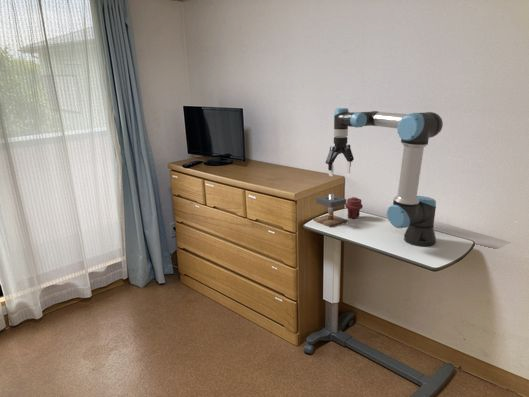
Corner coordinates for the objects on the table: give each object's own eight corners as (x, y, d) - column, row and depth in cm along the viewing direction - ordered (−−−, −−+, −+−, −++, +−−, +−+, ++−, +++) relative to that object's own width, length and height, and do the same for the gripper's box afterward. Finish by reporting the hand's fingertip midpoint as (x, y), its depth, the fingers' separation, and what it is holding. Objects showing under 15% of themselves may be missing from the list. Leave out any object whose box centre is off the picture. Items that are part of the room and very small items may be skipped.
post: (334, 219, 235) (335, 194, 231) (330, 220, 234) (331, 195, 230) (330, 218, 238) (331, 193, 234) (326, 219, 236) (327, 194, 232)
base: (347, 222, 235) (347, 220, 234) (330, 227, 227) (330, 224, 226) (330, 216, 246) (330, 214, 245) (313, 220, 238) (313, 218, 237)
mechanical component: (342, 218, 242) (349, 214, 249) (357, 221, 236) (364, 217, 244) (342, 198, 238) (350, 195, 246) (358, 201, 233) (365, 197, 240)
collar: (346, 204, 232) (346, 199, 231) (330, 207, 225) (331, 202, 224) (331, 199, 241) (331, 194, 240) (316, 203, 235) (316, 198, 234)
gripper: (350, 134, 233) (349, 170, 239) (319, 137, 219) (318, 176, 225) (361, 135, 228) (359, 172, 233) (329, 139, 213) (328, 178, 219)
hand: (339, 174), depth 229 cm, fingers open, 13 cm apart
